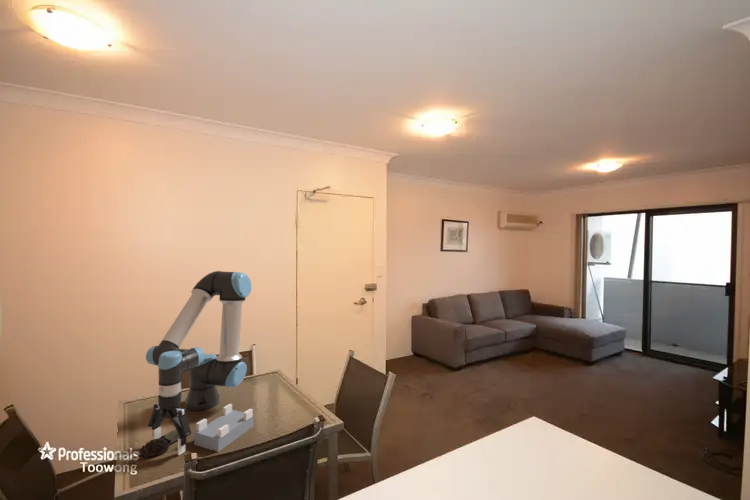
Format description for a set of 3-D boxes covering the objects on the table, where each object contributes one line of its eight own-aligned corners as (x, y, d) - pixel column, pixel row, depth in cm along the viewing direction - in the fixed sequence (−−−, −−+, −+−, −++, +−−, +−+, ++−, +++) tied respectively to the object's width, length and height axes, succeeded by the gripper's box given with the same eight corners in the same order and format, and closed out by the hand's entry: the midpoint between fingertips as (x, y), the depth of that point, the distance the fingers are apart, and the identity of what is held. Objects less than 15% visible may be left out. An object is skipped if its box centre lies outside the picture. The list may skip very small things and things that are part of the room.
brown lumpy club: (178, 434, 145) (179, 421, 145) (191, 438, 143) (191, 425, 143) (136, 459, 129) (136, 444, 129) (149, 464, 126) (149, 448, 126)
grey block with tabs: (193, 444, 138) (194, 424, 138) (230, 420, 157) (231, 402, 157) (218, 452, 134) (219, 431, 134) (253, 426, 153) (254, 408, 153)
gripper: (137, 391, 135) (137, 447, 135) (185, 403, 126) (184, 462, 127) (155, 384, 142) (155, 436, 142) (202, 395, 133) (201, 451, 134)
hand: (169, 449), depth 135 cm, fingers open, 12 cm apart
